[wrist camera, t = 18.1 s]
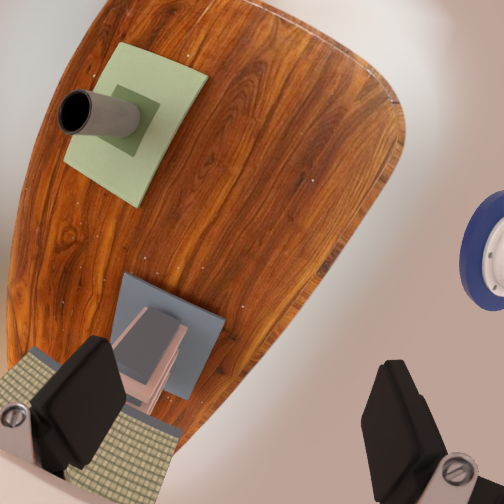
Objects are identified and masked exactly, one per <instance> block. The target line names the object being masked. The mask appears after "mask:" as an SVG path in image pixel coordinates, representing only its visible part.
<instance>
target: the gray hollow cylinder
mask: <svg viewBox="0 0 504 504" xmlns="http://www.w3.org/2000/svg"><path fill="white" fill-rule="evenodd" d="M139 123H140V111H139V109H138V107H137V106H136V105H135V104H134V103H131V102H129V101H125V100H122V99H118V98H115V97H111V96H107V95H103V94H100V93H96V92H92V91H88V90H83V89H76V90H73V91H71V92H70V93H69V94H67V95H66V97H65V98H64V99H63V101H62V102H61V104H60V107H59V110H58V124H59V127H60V129H61V130H62V131H63V132H64V133H65V134H68V135H86V136H109V137H127V136H129V135H131V134H132V133H133V132H134V131H135V130H136V129H137V127H138V125H139Z"/></svg>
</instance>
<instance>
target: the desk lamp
mask: <svg viewBox="0 0 504 504" xmlns="http://www.w3.org/2000/svg"><path fill="white" fill-rule="evenodd" d="M225 321H226V319H225V318H223V317H221V316H218V315H216V314H214V313H212V312H209V311H207V310H205V309H203V308H200V307H198V306H196V305H194V304H192V303H190V302H187V301H185V300H183V299H181V298H179V297H177V296H175V295H173V294H170V293H168V292H166V291H164V290H162V289H160V288H158V287H156V286H154V285H152V284H150V283H148V282H146V281H144V280H142V279H140V278H138V277H136V276H134V275H132V274H130V273H128V272H125V273H124V276H123V280H122V284H121V289H120V293H119V298H118V303H117V307H116V312H115V317H114V323H113V328H112V334H111V339H110V344H111V345H112V349H113V352H114V356H115V359H116V363H117V366H118V370H119V373H120V376H121V380H122V383H123V386H124V389H125V392H126V396H127V399H126V403H125V405H124V406H123V408H122V410H121V411H120V413H119V415H118V416H117V418H116V420H115V421H114V423H113V425H112V426H111V428H110V430H109V432H108V433H107V435H106V437H105V438H104V440H103V442H102V443H101V445H100V447H99V449H98V450H97V452H96V454H95V455H94V457H93V459H92V461H91V462H90V464H88V465H85V467H84V468H83V470H80V469H78V468H75V467H73V466H71V465H70V464H69V465H68V467H67V470H68V475H69V479H70V482H71V484H73V485H75V486H77V487H79V488H82V489H84V490H86V491H88V492H91V493H93V494H95V495H98V496H100V497H102V498H105V499H107V500H110V501H113V502H115V503H118V504H155V502H156V499H157V497H158V494H159V491H160V488H161V486H162V483H163V480H164V478H165V475H166V472H167V469H168V467H169V464H170V461H171V459H172V456H173V453H174V450H175V448H176V445H177V443H178V441H179V439H180V437H181V434H182V432H183V430H181V429H179V428H176V427H174V426H172V425H169V424H167V423H165V422H163V421H160V420H158V419H156V418H154V417H152V416H150V414H151V412H152V410H153V408H154V406H155V404H156V402H157V400H158V398H159V396H160V394H161V392H162V390H165V391H168V392H170V393H172V394H174V395H176V396H179V397H181V398H183V399H186V400H188V399H189V397H190V395H191V393H192V391H193V389H194V386H195V384H196V382H197V380H198V378H199V376H200V374H201V372H202V370H203V367H204V365H205V363H206V361H207V359H208V357H209V355H210V353H211V350H212V348H213V346H214V344H215V342H216V340H217V338H218V336H219V334H220V331H221V329H222V327H223V325H224V323H225ZM61 366H62V365H61V364H59V363H58V362H56V361H55V360H53V359H52V358H50V357H49V356H48V355H46V354H45V353H44V352H42V351H41V350H39V349H38V348H37V347H35V346H33V347H32V348H31V349H30V350H29V351H28V353H27V354H26V355H25V356H24V357H23V358H22V359H21V360H20V361H19V362H18V363H17V364H16V365H14V366H13V367H12V368H11V369H10V370H9V371H8V372H7V373H6V374H5V375H4V376H3V377H2V378H1V379H0V410H1V409H2V408H3V407H4V406H5V405H7V404H8V403H12V402H21V403H24V404H25V405H27V406H28V408H30V407H31V404H30V401H31V399H32V398H33V397H34V396H35V395H36V394H37V393H38V392H39V390H40V389H41V388H42V387H43V386H44V385H45V384H46V383H47V382H48V380H49V379H50V378H51V377H52V376H53V375H54V374H55V373H56V372H57V371H58V370H59V369H60V367H61Z"/></svg>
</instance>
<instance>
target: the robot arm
mask: <svg viewBox="0 0 504 504" xmlns="http://www.w3.org/2000/svg"><path fill="white" fill-rule="evenodd" d="M482 275H483V279H484V282H485V284H486V286H487V288H488V289H489V290H490V291H491V292H492V293H494V294H495V295H497V296H502V297H504V217H503V218H502V219H501V220H500V221H499V222H498V223H497V224H496V225H495V227H494V228H493V230H492V231H491V233H490V235H489V237H488V240H487V242H486V245H485V248H484V252H483V258H482ZM126 399H127V396H126V392H125V389H124V386H123V383H122V380H121V376H120V373H119V370H118V366H117V363H116V359H115V356H114V352H113V349H112V345H111V344H110V343H109V342H108V340H107V339H106V338H103V337H98V336H94V335H93V336H90V337H89V338H88V339H87V340H86V341H85V342H84V343H83V344H82V345H81V346H80V347H79V348H78V349H77V350H76V352H75V353H74V354H73V355H72V356H71V357H70V358H69V359H68V360H67V361H66V362H65V363H64V364H63V365H62V366H61V367H60V369H59V370H58V371H57V372H56V373H55V374H54V375H53V376H52V377H51V378H50V379H49V380H48V382H47V383H46V384H45V385H44V386H43V387H42V388H41V389H40V390H39V392H38V393H37V394H36V395H35V396H34V397H33V398H32V399H31V401H30V404H31V407H30V408H28V406H27V405H25V404H24V403H21V402H12V403H8V404H7V405H5V406H4V407H3V408H2V409H1V410H0V504H118V503H115V502H113V501H110V500H107V499H105V498H102V497H100V496H98V495H95V494H93V493H91V492H88V491H86V490H84V489H82V488H79V487H77V486H75V485H73V484H71V482H70V479H69V475H68V470H67V467H68V465H69V464H70V465H71V466H73V467H75V468H78V469H80V470H83V468H84V467H85V465H88V464H90V462H91V461H92V459H93V457H94V455H95V454H96V452H97V450H98V449H99V447H100V445H101V443H102V442H103V440H104V438H105V437H106V435H107V433H108V432H109V430H110V428H111V426H112V425H113V423H114V421H115V420H116V418H117V416H118V415H119V413H120V411H121V410H122V408H123V406H124V405H125V403H126ZM361 428H362V432H363V437H364V442H365V447H366V453H367V458H368V464H369V469H370V475H371V481H372V487H373V493H374V499H375V501H376V502H380V504H504V486H502V485H500V484H497V483H495V482H492V481H490V480H487V479H485V478H482V477H480V476H478V472H479V471H478V466H477V464H476V462H475V460H474V459H473V458H472V457H471V456H469V455H467V454H465V453H459V452H457V453H451V454H448V453H447V450H446V447H445V445H444V443H443V440H442V438H441V435H440V433H439V430H438V428H437V426H436V423H435V421H434V419H433V416H432V414H431V412H430V410H429V407H428V405H427V403H426V401H425V399H424V397H423V396H422V395H419V393H418V390H417V388H416V386H415V384H414V382H413V380H412V377H411V375H410V373H409V371H408V369H407V367H406V365H405V363H404V361H403V360H387V361H385V363H384V365H380V367H379V369H378V372H377V375H376V379H375V381H374V385H373V387H372V390H371V393H370V396H369V399H368V402H367V404H366V407H365V410H364V412H363V415H362V418H361Z"/></svg>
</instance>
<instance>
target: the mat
mask: <svg viewBox="0 0 504 504" xmlns="http://www.w3.org/2000/svg"><path fill="white" fill-rule="evenodd" d="M208 78H209V77H208V76H207V75H205V74H203V73H200V72H198V71H196V70H194V69H191V68H189V67H187V66H184V65H182V64H180V63H177V62H175V61H172V60H170V59H167V58H165V57H162V56H160V55H157V54H154V53H152V52H149V51H146V50H143V49H141V48H138V47H135V46H132V45H129V44H126V43H123V42H120V43H119V45H118V46H117V48H116V50H115V51H114V53H113V55H112V56H111V58H110V60H109V62H108V63H107V65H106V67H105V69H104V71H103V72H102V74H101V76H100V78H99V80H98V82H97V84H96V86H95V88H94V90H93V92H96V93H100V94H103V95H107V96H111V97H115V98H118V99H122V100H125V101H129V102H131V103H134V104H135V105H136V106H137V107H138V109H139V111H140V123H139V125H138V127H137V129H136V130H135V131H134V132H133V133H132V134H131V135H129V136H127V137H109V136H86V135H73V137H72V139H71V142H70V144H69V147H68V150H67V152H66V155H65V158H64V162H65V163H67V164H69V165H70V166H72V167H73V168H75V169H76V170H78V171H79V172H81V173H82V174H84V175H85V176H87V177H89V178H90V179H92V180H93V181H95V182H96V183H98V184H99V185H101V186H103V187H104V188H106V189H107V190H109V191H110V192H112V193H113V194H115V195H117V196H118V197H120V198H121V199H123V200H124V201H126V202H128V203H129V204H131V205H132V206H134V207H136V208H139V207H140V204H141V202H142V200H143V198H144V196H145V193H146V191H147V189H148V187H149V185H150V183H151V181H152V179H153V177H154V175H155V172H156V170H157V168H158V166H159V164H160V162H161V160H162V158H163V157H164V155H165V153H166V151H167V149H168V147H169V145H170V143H171V141H172V139H173V138H174V136H175V134H176V132H177V130H178V128H179V127H180V125H181V123H182V121H183V120H184V118H185V116H186V114H187V113H188V111H189V109H190V107H191V106H192V104H193V102H194V101H195V99H196V97H197V96H198V94H199V92H200V91H201V89H202V87H203V86H204V84H205V83H206V81H207V80H208Z"/></svg>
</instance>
